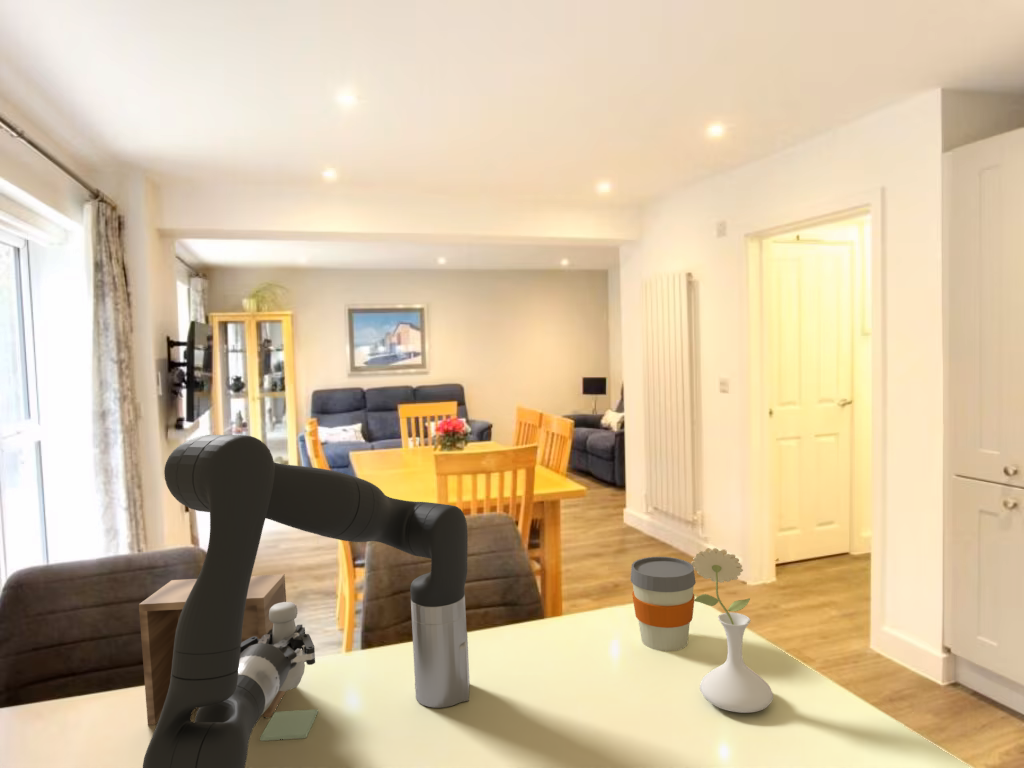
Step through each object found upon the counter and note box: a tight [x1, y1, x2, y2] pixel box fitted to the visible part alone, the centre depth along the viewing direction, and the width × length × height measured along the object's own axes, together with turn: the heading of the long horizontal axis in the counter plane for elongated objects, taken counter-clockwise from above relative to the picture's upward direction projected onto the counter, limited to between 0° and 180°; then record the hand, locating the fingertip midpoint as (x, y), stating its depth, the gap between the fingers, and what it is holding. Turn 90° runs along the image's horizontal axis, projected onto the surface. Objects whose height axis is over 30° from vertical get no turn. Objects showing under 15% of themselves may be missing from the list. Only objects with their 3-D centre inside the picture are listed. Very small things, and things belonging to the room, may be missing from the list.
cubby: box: [138, 573, 287, 726], centre depth 111 cm, size 20×11×20 cm, turn 92°
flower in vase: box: [690, 547, 774, 714], centre depth 106 cm, size 13×11×25 cm
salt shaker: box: [269, 601, 306, 692], centre depth 103 cm, size 6×6×13 cm
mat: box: [259, 708, 319, 742], centre depth 104 cm, size 7×7×1 cm
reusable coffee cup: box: [630, 556, 697, 652], centre depth 128 cm, size 13×13×15 cm
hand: (289, 631), depth 106 cm, fingers closed on salt shaker, 3 cm apart
